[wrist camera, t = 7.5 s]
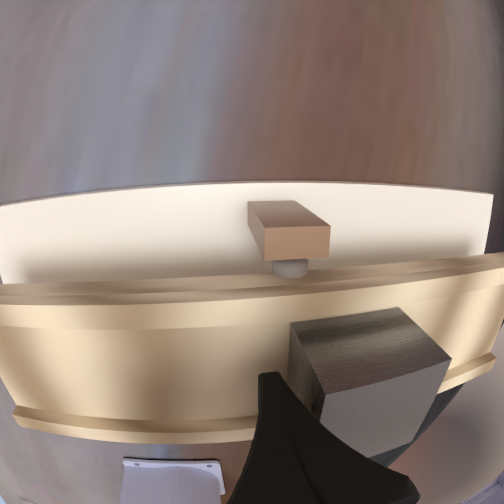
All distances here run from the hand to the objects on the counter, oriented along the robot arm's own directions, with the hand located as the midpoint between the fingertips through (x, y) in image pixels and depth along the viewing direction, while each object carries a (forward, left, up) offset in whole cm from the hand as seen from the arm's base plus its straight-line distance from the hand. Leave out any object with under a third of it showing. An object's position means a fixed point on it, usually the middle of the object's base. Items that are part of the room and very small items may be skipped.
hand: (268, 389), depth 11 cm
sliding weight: (+4, 0, -1) cm, 4 cm away
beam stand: (+1, 0, -8) cm, 8 cm away
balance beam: (+1, 0, -2) cm, 3 cm away
